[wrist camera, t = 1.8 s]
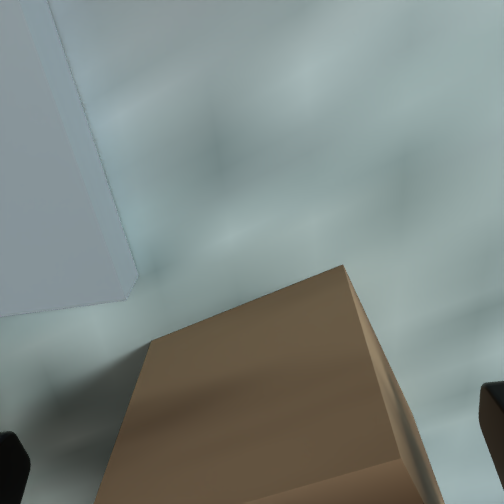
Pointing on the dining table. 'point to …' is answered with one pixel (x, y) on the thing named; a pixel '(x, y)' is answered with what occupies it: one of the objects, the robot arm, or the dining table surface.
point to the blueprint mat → (51, 179)
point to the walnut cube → (271, 410)
